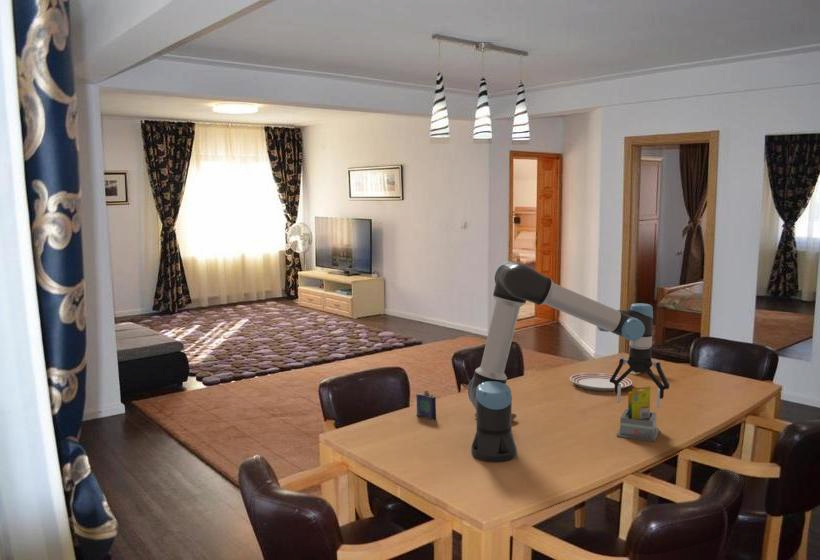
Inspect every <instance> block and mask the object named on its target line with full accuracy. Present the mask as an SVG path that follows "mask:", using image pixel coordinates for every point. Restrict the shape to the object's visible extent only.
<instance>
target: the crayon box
mask: <svg viewBox="0 0 820 560" xmlns="http://www.w3.org/2000/svg"><path fill="white" fill-rule="evenodd" d="M631 390H632V391H628V392H627V394H628V397H627V401H628V402H627V403H628V404H627V409H628V418H635V419H643V418H650V412H651V386H644V387H634V388H632V389H631Z"/></svg>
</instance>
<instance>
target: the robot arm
mask: <svg viewBox="0 0 820 560" xmlns="http://www.w3.org/2000/svg"><path fill="white" fill-rule="evenodd" d="M494 283H495V286H494V291H493V295H492V297H493V298H494V300H495V305H494V307H493V313H492V317H491V322H490V324H489V325H490V326H489V329H488V334H487V337H486V342H485V346H484V351H483V355H482V358H481V363H480V366H479V367H476V369H475V370H474V373H473V377H472V379H471V380H470V381H469V383H468V386H467V394H468V398H469V401H470V402H471V403H472V405H473V407H474V410H475V413H476V417H475V418H476V420H475V421H476V429H475V430H476V432H475V434H474V437H473V440H472V444H471V448H470V449H471V450H470V451H471V455H472V457H474V458H475V459H477V460H480V461H483V462H490V463H501V462H502V463H504V462H508V461H511V460H513V459H515V458H516V456H517V452H518V451H517V446H516V445H517V444H516V442H515V439H514V435H513V432H512V421H511V413H512V401H513V394H512V390H511V388H510V386H509V385H508V384H507V380H508V377H507V375H506V373H505V370H506V367H507V362H508V358H509V354H510V351H511V346H512V342H513V338H514V335H515V330H516V325H517V321H518V317H519V313H520V309H521V307H522V306H524V305H525V304H526V303H527V302H530V303H533V304H536V305H538V306H542V305H545V306H547V307H550V308H552V309H555V310H558V311H560V312H562V313H565V314H567V315H570V316H572V317H574V318H577V319H579V320H582V321H584V322H586V323H588V324H591V325H593V326H596V328H597V329H598V331H600V332H605V333H608V332H609V333H612V334H613V335H614V334H615V335H617V336H619V337H621V338H623V339H625V340H627V341H629V343H628V359H627V358H624V357H621V358H620V359H619V362H618V365H617V367H616V369H615V371H614V372H613V376H612V377H611V379H610V382H611V383H614V385H615V391H613V392H614V394H616V395H617V396H616V398H617V399H616V404H620V403H621V400H622V399H621V396H622V395H621V394H622V393H621V392H622V389H621V384H619V383H620V382H621V381H622V380H623V379H624V378H627V376H629V373H630V372H631V371H632V370H633V371H634V372H636V373H638V372H640V374H645V373H646V374H647V376H649V378H650V379H651V380H652V381H653V382H654V384H655V385H656V386H657V395H656V409H660V406H661V400H663V399H664V397H665V394H664V393H665V390H669V389H670V384H669V380H668V379H667V377H666V375H665V373H664V371H663V369H662V366H661V365H662V364H661V361H660V360H658V361H652V346H653V321H654V311H653V310H654V308H653V305H652V304H649V303H642V302H640V303H639V302H637V303H632V304H630V308H629V309H614V308H613V307H611V306H608V305H606V304H603V303H601V302H598V301H596V300H594V299H591V298H589V297H586V296H584V295H582V294H580V293H578V292H576V291H573V290H571V289H568V288H567V287H563V286H562V285H559V284H557V283H555V282H553V279H552V278H550V277H548V276H546V275H544V274H542V273H540V272H539V271H537V270H535V269H534V268H532V267H531V266H529V265H528V264H525V263H523V262H520V261H518V260H510V261H506V262H504V263H503V262H502V263H501V264H500V266H498V268H496V270H495V274H494ZM629 345H630V347H629ZM626 364H628V368H627V369H626V370H625V372H623V373H622V374H621V375H619V376H620V377H619V378H618V379H617V380H615V378H616V376H617V375H618V374H619V373H620V371H621V369H622V368H623V366H624V365H626ZM629 366H630V368H629ZM652 366H653V367H654V368H655V369H656V372H657V373H658V375H659V378H660V379H661V381H662V382H661V381H660V380H659V378H658V377H657V376H656V375H655V373H654V372H653V370H652V369H651V367H652Z"/></svg>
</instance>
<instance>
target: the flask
mask: <svg viewBox="0 0 820 560" xmlns="http://www.w3.org/2000/svg"><path fill="white" fill-rule="evenodd" d="M415 395H416V396H415V397H416V416H417V417H422V418H424V417H426V419H430V420H434V419H435V420H436V419H437V407H436V406H437V403H436V401H437V400H436V399H437V398H436V396H435V395H433V394H430V392H429V390H424V391H423V392H421V393H420V392H417V393H416V394H415Z"/></svg>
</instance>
